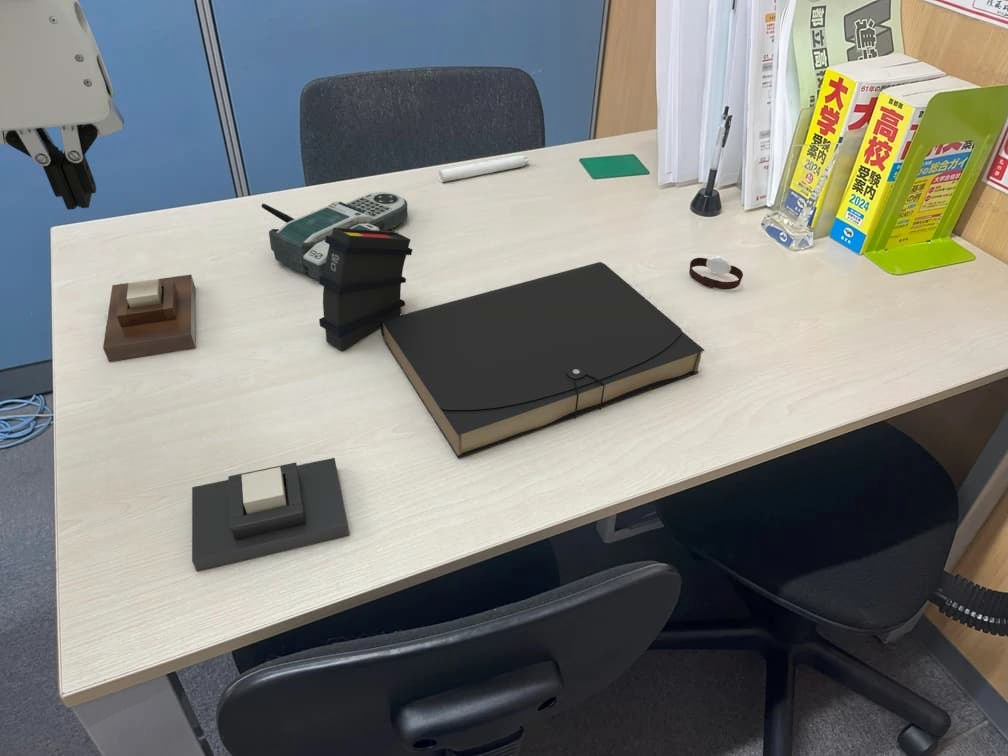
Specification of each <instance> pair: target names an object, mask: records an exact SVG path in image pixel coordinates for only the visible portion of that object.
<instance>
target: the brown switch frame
mask: <svg viewBox="0 0 1008 756" xmlns="http://www.w3.org/2000/svg"><path fill="white" fill-rule="evenodd" d="M158 279H159V282H160V285H161V288H162V303H161V304H158V305H151V306H144V307H138V308H131V309H130V306H129V304H128V301H127V291H128V283H129V282H125V283H119V284H112V285H111V290H110V291H111V292H110V299H109V304H108V305H109V306H108V313H107V319H106V324H105V325H106V326H105V331H104V338H103V346H102V349H103V351H104V354H105V356H106V359H107V360H108V362H109V363H110V362H116V361H124V360H127V359H128V360H129V359H135V358H141V357H147V356H154V355H160V354H161V355H162V354H166V353H173V352H180V351H185V350H191V349H196V348H197V347H196V345H197V344H196V337H197V335H196V284H195V282H194V278H193V275H192V274H185V275H177V276H170V277H162V278H158ZM140 281H141V280H139V281H138V282H140Z"/></svg>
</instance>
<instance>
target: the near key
mask: <svg viewBox="0 0 1008 756" xmlns="http://www.w3.org/2000/svg"><path fill="white" fill-rule="evenodd" d="M242 491H243V504H244V507H245V510H246V513H247V515H248V514H252V513H257V512H262V511H266V510H271V509H275V508H280V507H284V506H287V505H286V497H285V489H284V481H283V476H282V472H281V468H280V467H277V468H272V469H267V470H263V471H258V472H253V473H248V474H243V475H242Z"/></svg>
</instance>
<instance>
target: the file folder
mask: <svg viewBox="0 0 1008 756" xmlns="http://www.w3.org/2000/svg"><path fill="white" fill-rule="evenodd" d="M379 330H380V332H381V336H382V338H383V341H384V343H385V345H386V347H387V348H388V350H389V351H390V353H391V354H392V356H393V357H394V359H395V361H396V362H397V364H398V365H399V367H400V369H401V370H402V372H403V374H404V375H405V377H406V378H407V380H408V381H409V382H410V384H411V386H412V387H413V389H414V390H415V392H416V394H417V396H418V397H419V398H420V400H421V402H422V404H423V405H424V406H425V408H426V410H427V411H428V413H429V415H430V416H431V417H432V419H433V421H434V422H435V424H436V425H437V427H438V429H439V430H440V432H441V433H442V435H443V436H444V438H445V439H446V441H447V443H448V444H449V446H450V447H451V449H452V450H453V452H454V454H455V455H456V457H457V458H458V459H461V458H463V457H466V456H469V455H472V454H475V453H477V452H480V451H483V450H485V449H488V448H491V447H494V446H497V445H500V444H503V443H506V442H508V441H511V440H513V439H516V438H519V437H522V436H524V435H525V436H526V435H527V434H530V433H533V432H537V431H539V430H542V429H544V428H547V427H550V426H553V425H556V424H558V423H561V422H564V421H566V420H569V419H572V418H573V419H576V418H577V417H578V416H581V415H584V414H586V413H589V412H592V411H594V410H595V411H596V410H602V408H604V407H606V406H609V405H612V404H615V403H617V402H620V401H623V400H625V399H628V398H631V397H634V396H637V395H640V394H642V393H646V392H648V391H651V390H654V389H656V388H659V387H662V386H665V385H667V384H671V383H674V382H676V381H679V380H682V379H684V378H687V377H689V376H693V375H696V374H699V367H700V366H699V365H700V363H701V358H702V356H703V354H702V353H703V352H705V351H706V350H705V349H704V348H703V347H702V346H701V345H700V344H698V343H697V342H695V341H694V340H693V339H692V338H691V337H690V336H688V335H687V333H685V332H684V331H683V330H682V328H681V327H680V326H679V325H677V324H676V323H675V322H674V321H673V320H672V319H670V318H669V317H668V316H667V315H666V314H664V313H663V312H662V311H661V310H660V309H659V308H657V306H655V305H654V304H653V303H652V302H650V300H648V299H647V298H645V296H644V295H642V294H641V293H640V292H639V291H638V290H636V289H635V288H634V287H633V286H632V285H630V284H629V283H628V282H627V281H626V280H625V279H624V278H623V277H621V276H620V275H619V274H618V273H616V271H614V270H613V269H612V268H610V267H609V266H608V265H607V264H606V263H603V262H602V261H598V262H595V263H590V264H587V265H583V266H579V267H576V268H572V269H568V270H565V271H561V272H557V273H552V274H549V275H546V276H542V277H538V278H534V279H531V280H526V281H523V282H519V283H516V284H512V285H509V286H505V287H501V288H496V289H494V290H493V289H492V290H490V291H485V292H482V293H479V294H475V295H471V296H467V297H464V298H460V299H456V300H452V301H449V302H445V303H441V304H438V305H433V306H430V307H425V308H422V309H418V310H415V311H414V310H413V311H411V312H407V313H404V314H401V315H399V316H396V317H392V318H388V319H384V320H381V321H380V328H379Z"/></svg>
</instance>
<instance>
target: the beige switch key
mask: <svg viewBox="0 0 1008 756" xmlns="http://www.w3.org/2000/svg"><path fill="white" fill-rule="evenodd" d="M159 279H160V278H155V279H148V280H139V281H140V282H139V281H131V282H127V283H128V291H127V301H128V304H129V306H130V309H131V308H138V307H144V306H151V305H158V304H161V303H162V288H161V285H160V282H159Z"/></svg>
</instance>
